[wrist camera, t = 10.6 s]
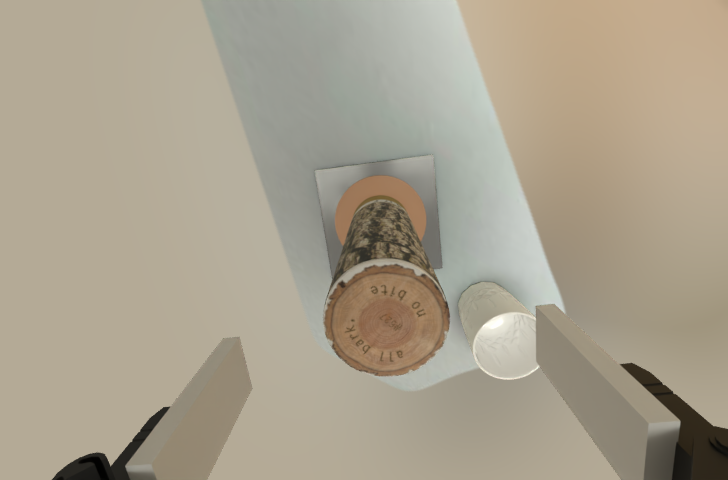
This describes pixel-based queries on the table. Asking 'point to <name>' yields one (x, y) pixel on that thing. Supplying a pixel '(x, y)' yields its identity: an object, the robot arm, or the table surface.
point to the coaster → (389, 178)
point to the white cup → (499, 331)
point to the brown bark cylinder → (385, 294)
